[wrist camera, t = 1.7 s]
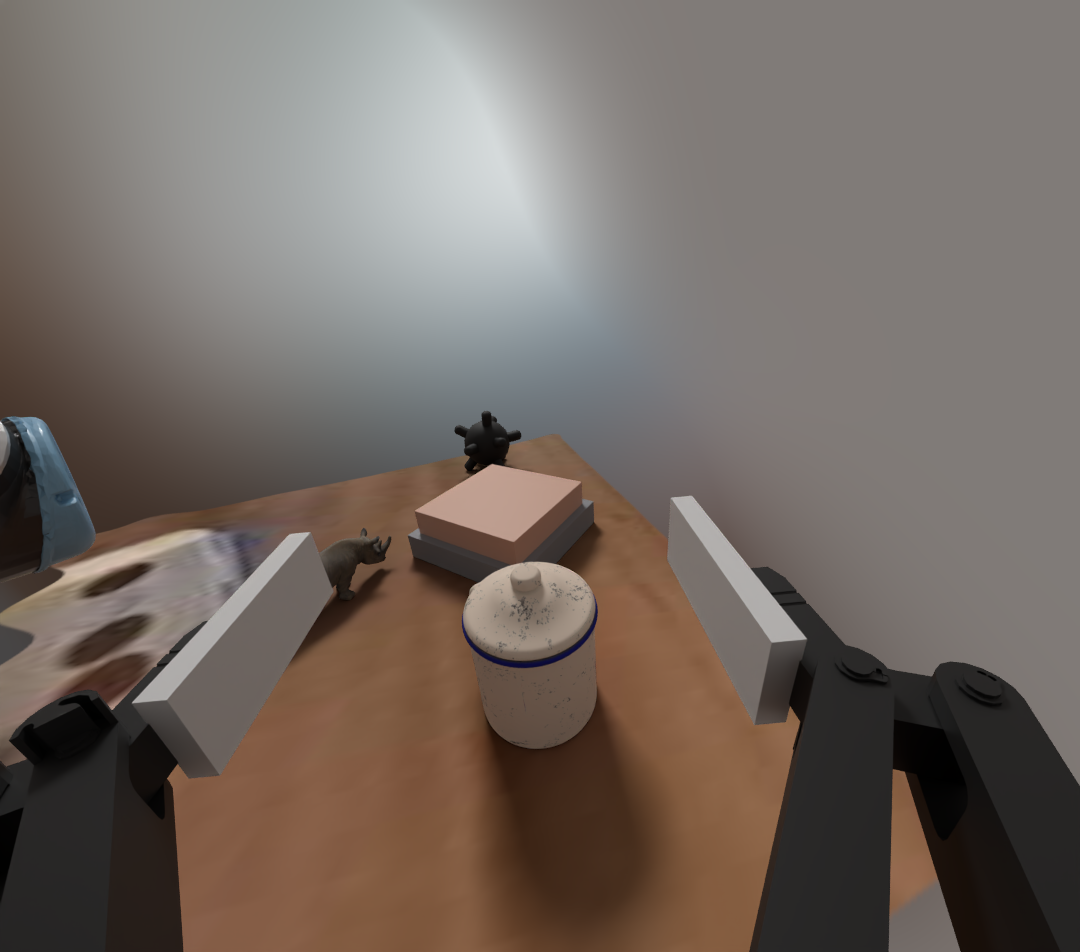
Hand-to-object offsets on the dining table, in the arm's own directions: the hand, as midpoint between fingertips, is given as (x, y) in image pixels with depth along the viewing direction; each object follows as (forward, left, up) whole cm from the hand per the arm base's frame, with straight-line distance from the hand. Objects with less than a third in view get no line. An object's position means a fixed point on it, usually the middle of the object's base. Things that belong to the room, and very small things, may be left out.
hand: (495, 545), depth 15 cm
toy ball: (-36, +39, -20) cm, 56 cm away
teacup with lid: (-6, +7, -20) cm, 22 cm away
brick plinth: (-20, +23, -20) cm, 36 cm away
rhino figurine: (-30, +7, -20) cm, 36 cm away
